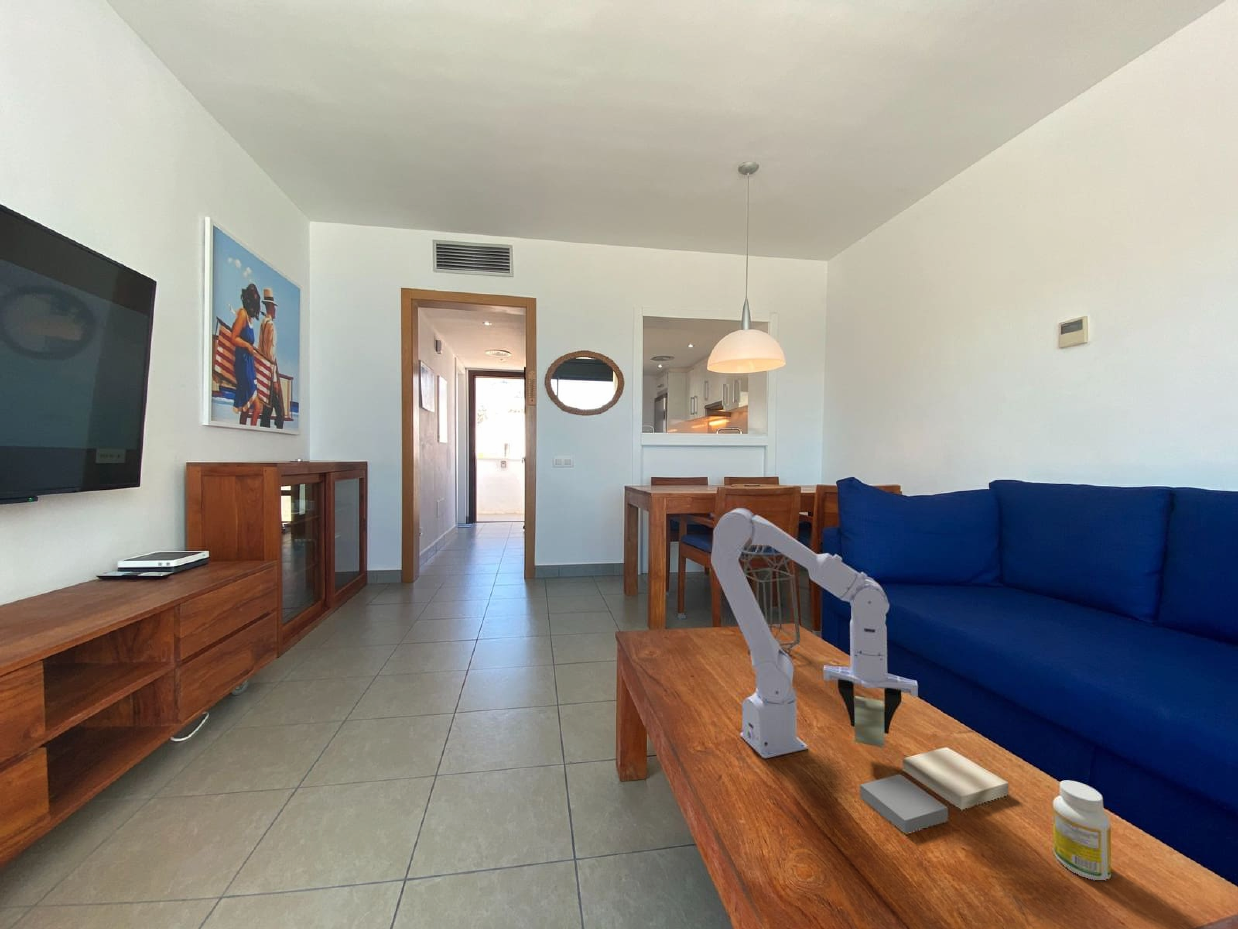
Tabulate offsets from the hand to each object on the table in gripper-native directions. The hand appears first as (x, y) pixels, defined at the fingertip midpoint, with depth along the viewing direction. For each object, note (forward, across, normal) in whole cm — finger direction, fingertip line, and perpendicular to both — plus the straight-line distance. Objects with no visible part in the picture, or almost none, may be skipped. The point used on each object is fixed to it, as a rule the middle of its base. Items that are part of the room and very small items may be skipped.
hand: (869, 727), depth 84 cm
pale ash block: (+6, +12, -1) cm, 13 cm away
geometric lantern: (+6, -25, +42) cm, 49 cm away
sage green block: (+2, 0, 0) cm, 2 cm away
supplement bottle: (+6, +24, -13) cm, 28 cm away
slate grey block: (+6, +4, -11) cm, 13 cm away
